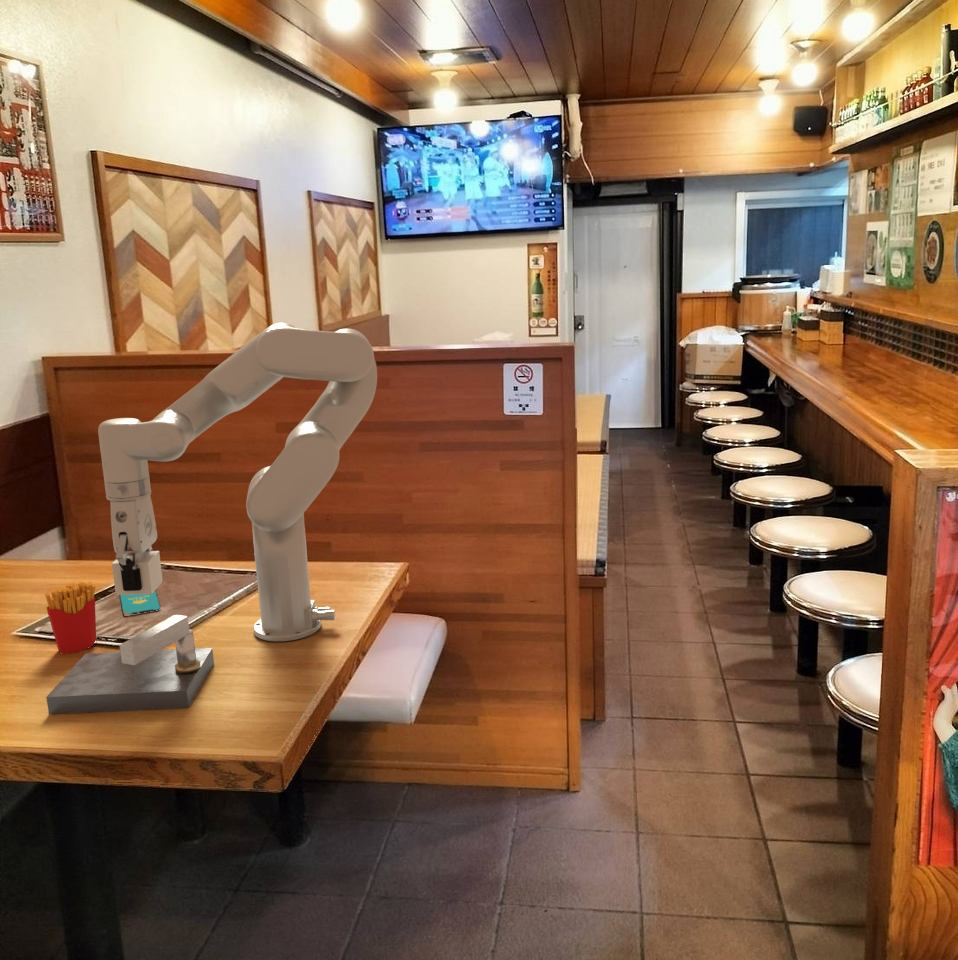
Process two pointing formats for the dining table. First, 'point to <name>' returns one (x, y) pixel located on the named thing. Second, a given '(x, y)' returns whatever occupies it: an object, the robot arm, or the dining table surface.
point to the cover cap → (148, 571)
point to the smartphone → (139, 603)
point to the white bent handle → (163, 644)
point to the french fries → (73, 616)
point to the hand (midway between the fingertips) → (139, 582)
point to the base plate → (128, 683)
